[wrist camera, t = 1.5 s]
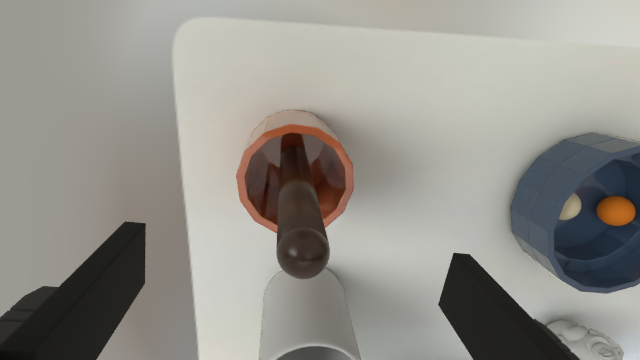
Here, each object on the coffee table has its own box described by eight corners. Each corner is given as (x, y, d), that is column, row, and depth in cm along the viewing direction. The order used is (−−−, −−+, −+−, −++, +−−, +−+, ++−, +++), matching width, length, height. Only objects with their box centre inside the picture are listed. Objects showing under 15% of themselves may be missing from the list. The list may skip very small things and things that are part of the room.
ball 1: (543, 183, 36) (565, 193, 33) (569, 186, 36) (594, 197, 33) (533, 210, 36) (554, 223, 34) (559, 213, 37) (582, 226, 34)
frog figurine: (585, 333, 43) (640, 382, 37) (532, 357, 44) (576, 409, 37) (576, 296, 41) (632, 341, 35) (520, 321, 42) (565, 370, 35)
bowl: (534, 123, 34) (584, 135, 28) (660, 142, 36) (730, 157, 30) (490, 253, 38) (526, 287, 33) (605, 264, 40) (658, 298, 35)
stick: (282, 141, 32) (279, 238, 14) (308, 145, 32) (337, 243, 15) (278, 167, 32) (272, 288, 15) (304, 170, 33) (328, 292, 15)
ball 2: (595, 190, 36) (622, 200, 34) (621, 193, 37) (649, 204, 34) (584, 216, 37) (609, 229, 34) (609, 219, 38) (636, 232, 35)
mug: (260, 265, 36) (250, 348, 26) (343, 259, 37) (366, 336, 26) (269, 359, 40) (264, 463, 30) (345, 351, 41) (365, 450, 30)
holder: (251, 103, 31) (241, 116, 23) (345, 117, 32) (364, 133, 25) (243, 191, 33) (231, 229, 26) (330, 200, 35) (343, 240, 27)
